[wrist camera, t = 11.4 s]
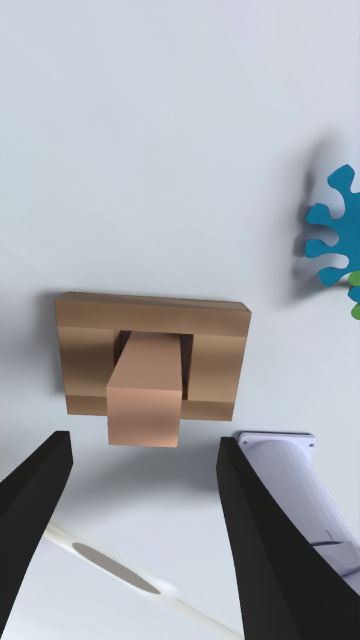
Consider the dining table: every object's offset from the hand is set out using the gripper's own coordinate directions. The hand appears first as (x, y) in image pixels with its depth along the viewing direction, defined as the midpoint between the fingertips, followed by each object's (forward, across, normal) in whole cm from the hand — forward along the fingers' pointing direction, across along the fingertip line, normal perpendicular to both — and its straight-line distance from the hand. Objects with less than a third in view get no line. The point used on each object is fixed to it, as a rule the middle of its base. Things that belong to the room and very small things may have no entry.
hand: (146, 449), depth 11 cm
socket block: (+10, 0, 0) cm, 10 cm away
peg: (+10, 0, 0) cm, 10 cm away
